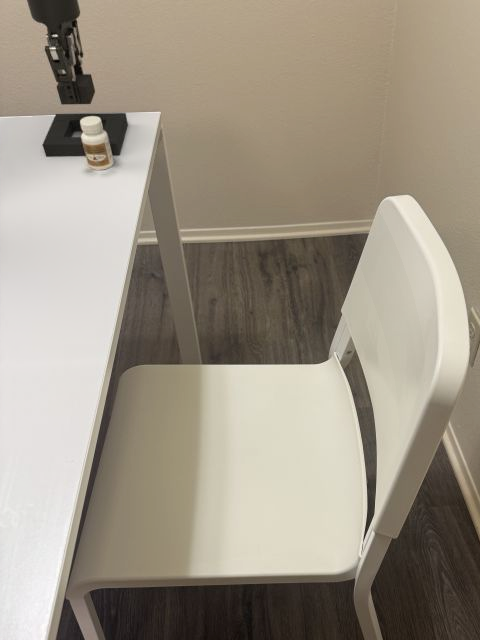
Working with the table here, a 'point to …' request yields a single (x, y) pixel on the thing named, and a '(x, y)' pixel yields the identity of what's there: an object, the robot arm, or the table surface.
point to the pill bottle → (96, 143)
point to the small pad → (79, 89)
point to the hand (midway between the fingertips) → (77, 95)
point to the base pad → (66, 124)
